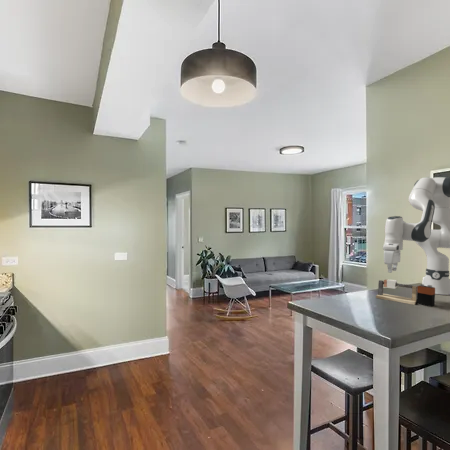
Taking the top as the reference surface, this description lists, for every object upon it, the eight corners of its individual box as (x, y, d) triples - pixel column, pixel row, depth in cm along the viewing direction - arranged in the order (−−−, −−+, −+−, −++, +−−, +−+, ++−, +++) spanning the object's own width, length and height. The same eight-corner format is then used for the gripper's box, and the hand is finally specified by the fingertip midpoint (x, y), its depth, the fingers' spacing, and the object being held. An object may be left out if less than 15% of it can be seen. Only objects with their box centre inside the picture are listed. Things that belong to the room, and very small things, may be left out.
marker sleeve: (388, 286, 168) (388, 279, 168) (396, 287, 166) (397, 280, 166) (386, 287, 165) (386, 280, 165) (394, 288, 162) (395, 281, 162)
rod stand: (380, 295, 173) (381, 278, 173) (417, 301, 161) (418, 283, 162) (375, 297, 166) (376, 279, 166) (414, 304, 154) (415, 285, 154)
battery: (431, 306, 152) (432, 286, 152) (416, 303, 157) (417, 284, 157) (434, 305, 154) (435, 285, 154) (419, 302, 160) (420, 283, 160)
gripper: (391, 244, 175) (390, 268, 176) (382, 246, 160) (380, 272, 160) (404, 245, 171) (403, 270, 172) (395, 247, 156) (394, 274, 156)
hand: (392, 271), depth 166 cm, fingers open, 8 cm apart
